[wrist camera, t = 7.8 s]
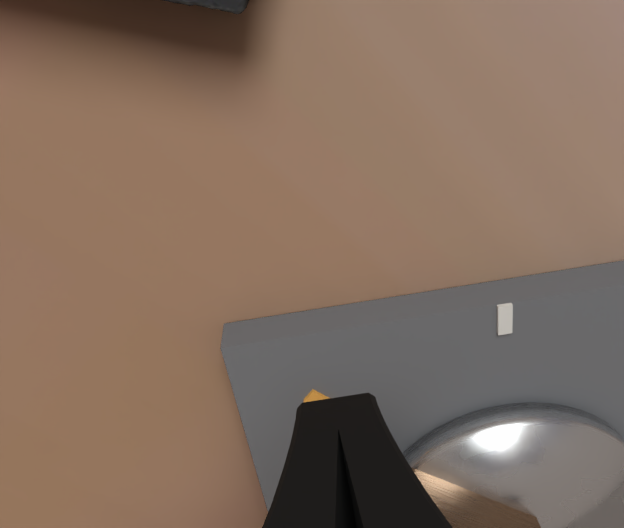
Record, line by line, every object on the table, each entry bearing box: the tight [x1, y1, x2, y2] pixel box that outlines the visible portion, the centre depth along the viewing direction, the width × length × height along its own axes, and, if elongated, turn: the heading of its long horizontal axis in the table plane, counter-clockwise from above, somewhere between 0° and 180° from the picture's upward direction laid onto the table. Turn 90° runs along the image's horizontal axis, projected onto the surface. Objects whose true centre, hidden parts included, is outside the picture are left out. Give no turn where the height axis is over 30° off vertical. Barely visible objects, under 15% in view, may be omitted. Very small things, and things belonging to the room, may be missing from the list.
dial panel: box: [221, 261, 624, 512], centre depth 26 cm, size 20×20×2 cm
